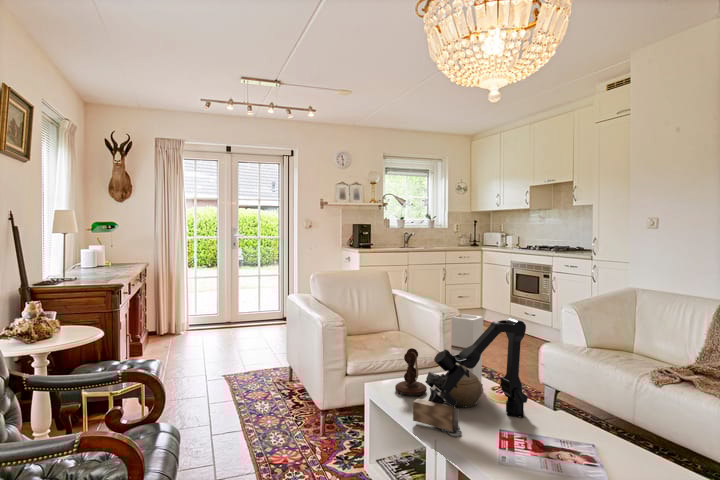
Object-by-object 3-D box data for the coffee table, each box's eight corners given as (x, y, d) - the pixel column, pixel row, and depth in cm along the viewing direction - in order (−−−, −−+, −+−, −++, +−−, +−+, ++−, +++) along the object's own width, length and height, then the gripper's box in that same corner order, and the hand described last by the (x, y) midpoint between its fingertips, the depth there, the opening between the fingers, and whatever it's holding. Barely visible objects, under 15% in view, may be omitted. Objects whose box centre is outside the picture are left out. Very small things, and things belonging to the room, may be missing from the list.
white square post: (482, 388, 212) (483, 316, 211) (472, 394, 204) (473, 319, 203) (461, 382, 219) (462, 313, 219) (450, 388, 211) (451, 316, 211)
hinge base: (462, 432, 165) (462, 430, 165) (460, 438, 160) (460, 436, 160) (449, 430, 167) (449, 428, 167) (447, 435, 162) (447, 433, 162)
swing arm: (459, 428, 164) (460, 408, 164) (456, 432, 161) (456, 412, 161) (417, 417, 174) (417, 398, 174) (413, 420, 171) (413, 401, 171)
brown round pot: (478, 396, 202) (479, 359, 201) (484, 412, 185) (486, 372, 184) (434, 393, 204) (435, 357, 203) (437, 409, 187) (438, 369, 186)
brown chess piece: (424, 399, 197) (424, 355, 197) (392, 395, 201) (392, 352, 201) (428, 388, 211) (428, 347, 211) (398, 385, 216) (398, 345, 215)
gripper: (429, 358, 182) (404, 387, 180) (448, 372, 164) (422, 404, 162) (446, 375, 184) (422, 404, 182) (468, 391, 166) (441, 423, 164)
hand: (426, 408), depth 172 cm, fingers closed
